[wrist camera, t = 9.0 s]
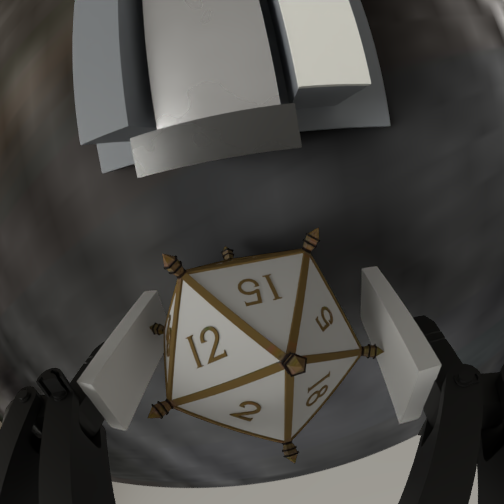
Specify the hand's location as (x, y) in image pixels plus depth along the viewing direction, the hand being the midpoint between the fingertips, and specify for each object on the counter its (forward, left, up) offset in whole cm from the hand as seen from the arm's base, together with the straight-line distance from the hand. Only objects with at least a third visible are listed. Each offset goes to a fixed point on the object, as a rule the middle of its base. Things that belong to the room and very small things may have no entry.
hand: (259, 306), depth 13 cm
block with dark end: (+1, +12, -1) cm, 12 cm away
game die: (0, 0, -1) cm, 1 cm away
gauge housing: (0, +14, -2) cm, 14 cm away
